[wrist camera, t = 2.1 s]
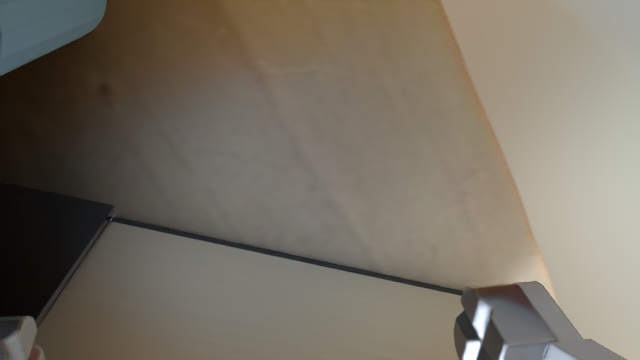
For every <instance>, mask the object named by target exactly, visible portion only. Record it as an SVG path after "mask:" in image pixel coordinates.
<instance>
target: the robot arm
mask: <svg viewBox="0 0 640 360" xmlns="http://www.w3.org/2000/svg"><path fill="white" fill-rule="evenodd" d="M460 302H461V304H462V306H463V308H464V311H463V312H462V313H461V314H460V315H458V316H457V317H456V320H455V325H454V330H453V332H454V345H455V348H456V352H457V355H458V357H459V359H460V360H626V359H625V358H622V357H621V356H619V355H618V354H616V353H614V352H612V351H611V350H609V349H607V348H605V347H604V346H602V345H600V344H599V343H597V342H595V341H593V340H592V339H583V338H582V337H581V335H580V334H579V333H578V331H577V330H576V329H575V327H574V326H573V325H572V323H571V322H570V321H569V319H568V318H567V317H566V315H565V314H564V313H563V311H562V310H561V309H560V307H559V306H558V305H557V303H556V302H555V301H554V299H553V298H552V297H551V295H550V294H549V293H548V292H547V290H546V289H545V288H544V286H543V285H542V284H540V283H539V282H537V281H532V282H520V283H513V284H497V285H483V286H470V287H466V288H465V290H464V291H463V293H462V296H461V300H460ZM37 332H38V330H37V327H36V324H35V321H34V318H33V317H30V316H10V317H0V360H46V359H45V355H44V351H43V349H42V348H41V347H39V346H38V345H37V344H35V343H34V341H35V338H36V335H37Z"/></svg>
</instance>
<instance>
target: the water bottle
mask: <svg viewBox="0 0 640 360" xmlns="http://www.w3.org/2000/svg"><path fill="white" fill-rule="evenodd" d="M106 4H107V0H0V76H1V75H4V74H6V73H8V72H10V71H12V70H14V69H16V68H18V67H20V66H22V65H24V64H26V63H29V62H31V61H33V60H35V59H37V58H39V57H41V56H43V55H45V54H47V53H49V52H51V51H53V50H56V49H58V48H60V47H62V46H64V45H66V44H68V43H70V42H72V41H74V40H76V39H78V38H81V37H82V36H84V35H86V34H87V33H89V32H91V31H92V30H94V29H95V28H96V27H97V26H98V24H99V23H100V22H101V20H102V18H103V16H104V14H105V10H106Z"/></svg>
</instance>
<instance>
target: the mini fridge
mask: <svg viewBox="0 0 640 360" xmlns="http://www.w3.org/2000/svg"><path fill="white" fill-rule="evenodd" d="M113 212H114V206H112V205H107V204H102V203H98V202H93V201H88V200H84V199H79V198H75V197H70V196H65V195H61V194H56V193H51V192H47V191H42V190H38V189H33V188H28V187H24V186H19V185H14V184H10V183H5V182H0V317H10V316H30V317H33V318H34V321H35V324H36V327H37V330H38V332H37V335H36V338H35V341H34V343H35V344H37V345H38V346H39V347H41V348H42V349H43V351H44V355H45V359H46V360H460V359H459V357H458V355H457V352H456V348H455V345H454V332H453V330H454V325H455V320H456V317H457V316H458V315H460V314H461V313H462V312H463V311H464V308H463V306H462V304H461V302H460V300H461V296H462V293H463V292H461V291H457V290H452V289H447V288H443V287H438V286H433V285H429V284H424V283H419V282H414V281H410V280H405V279H400V278H396V277H391V276H386V275H382V274H377V273H372V272H368V271H363V270H358V269H354V268H349V267H344V266H340V265H335V264H330V263H325V262H321V261H316V260H311V259H307V258H302V257H297V256H293V255H288V254H283V253H279V252H274V251H269V250H265V249H260V248H255V247H250V246H246V245H241V244H236V243H232V242H227V241H222V240H218V239H213V238H208V237H204V236H199V235H194V234H190V233H185V232H180V231H176V230H171V229H166V228H161V227H157V226H152V225H147V224H143V223H138V222H133V221H129V220H124V219H119V218H115V217H113ZM112 217H113V218H112ZM111 219H112V220H111ZM110 220H111V221H110Z"/></svg>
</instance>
